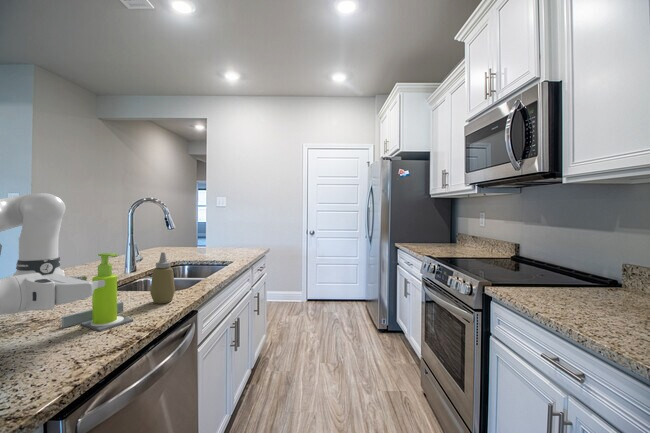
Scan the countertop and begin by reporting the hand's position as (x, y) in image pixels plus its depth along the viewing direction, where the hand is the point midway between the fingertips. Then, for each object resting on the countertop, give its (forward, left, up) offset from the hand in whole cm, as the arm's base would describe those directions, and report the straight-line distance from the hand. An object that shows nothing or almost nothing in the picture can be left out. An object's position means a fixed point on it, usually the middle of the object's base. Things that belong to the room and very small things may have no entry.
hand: (94, 280), depth 86 cm
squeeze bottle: (-5, +25, -13) cm, 29 cm away
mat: (0, +4, -13) cm, 14 cm away
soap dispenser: (-1, +4, -13) cm, 13 cm away
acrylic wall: (-7, +4, -13) cm, 16 cm away
